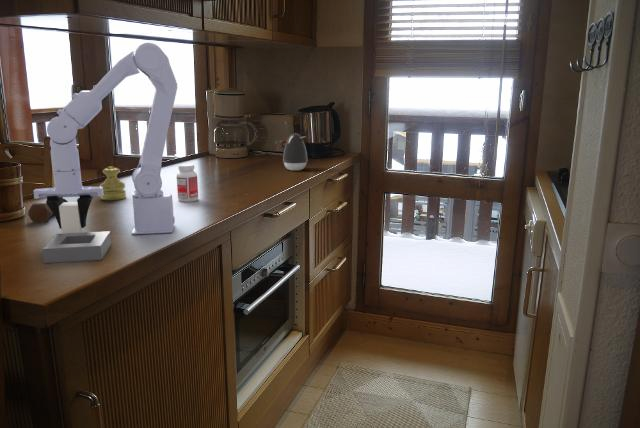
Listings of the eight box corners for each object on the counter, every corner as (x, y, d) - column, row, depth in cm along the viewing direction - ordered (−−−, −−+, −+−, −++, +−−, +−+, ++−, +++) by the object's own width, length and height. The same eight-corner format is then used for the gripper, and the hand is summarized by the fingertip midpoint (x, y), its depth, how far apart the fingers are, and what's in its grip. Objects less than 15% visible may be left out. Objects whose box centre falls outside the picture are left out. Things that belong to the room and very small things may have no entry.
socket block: (111, 244, 119) (110, 231, 119) (101, 259, 109) (100, 245, 108) (58, 246, 117) (57, 233, 116) (44, 263, 107) (42, 248, 106)
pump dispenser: (300, 172, 215) (300, 134, 211) (278, 170, 219) (278, 133, 215) (312, 169, 224) (312, 132, 220) (290, 167, 228) (290, 131, 224)
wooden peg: (85, 234, 127) (81, 201, 125) (81, 238, 123) (77, 205, 121) (67, 235, 126) (63, 202, 124) (62, 239, 122) (58, 206, 120)
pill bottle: (198, 197, 167) (196, 163, 165) (198, 201, 162) (197, 166, 159) (177, 198, 166) (175, 163, 163) (177, 202, 160) (175, 166, 157)
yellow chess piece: (97, 198, 166) (93, 166, 163) (119, 194, 171) (117, 164, 168) (107, 202, 161) (104, 169, 158) (130, 198, 166) (127, 166, 163)
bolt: (67, 215, 152) (43, 228, 137) (50, 207, 151) (24, 218, 136) (75, 198, 151) (52, 209, 136) (59, 190, 150) (34, 199, 135)
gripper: (103, 166, 126) (108, 221, 129) (37, 167, 123) (44, 224, 126) (97, 171, 119) (103, 229, 123) (27, 172, 116) (35, 232, 120)
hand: (73, 227), depth 124 cm, fingers closed on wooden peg, 4 cm apart
